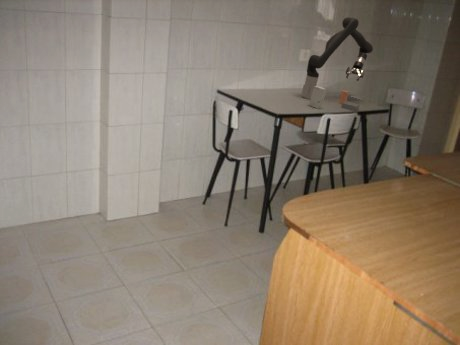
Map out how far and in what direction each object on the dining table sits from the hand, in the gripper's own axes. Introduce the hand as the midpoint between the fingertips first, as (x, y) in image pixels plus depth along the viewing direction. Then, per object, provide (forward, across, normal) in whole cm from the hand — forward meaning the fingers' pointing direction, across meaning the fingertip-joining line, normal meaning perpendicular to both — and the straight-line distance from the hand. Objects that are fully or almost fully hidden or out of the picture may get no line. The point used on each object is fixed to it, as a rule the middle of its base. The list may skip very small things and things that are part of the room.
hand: (352, 79), depth 377 cm
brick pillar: (+22, 0, +5) cm, 22 cm away
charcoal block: (+30, +9, -3) cm, 31 cm away
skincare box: (+48, -10, -22) cm, 54 cm away
